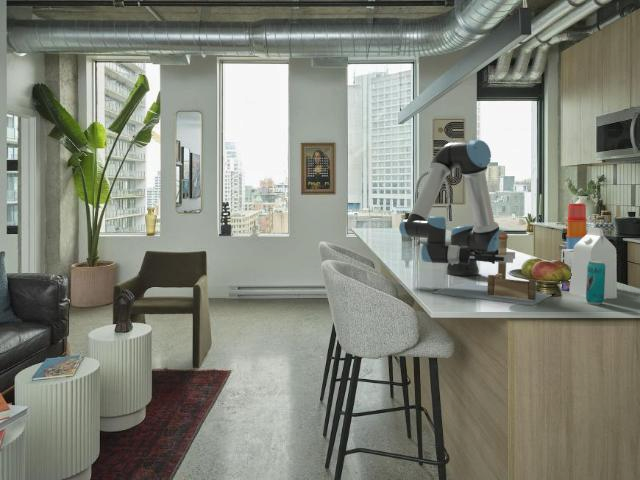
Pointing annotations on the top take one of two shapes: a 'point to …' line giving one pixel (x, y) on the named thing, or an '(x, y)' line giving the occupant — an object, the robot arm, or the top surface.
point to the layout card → (481, 293)
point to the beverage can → (595, 282)
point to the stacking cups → (576, 224)
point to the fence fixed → (512, 288)
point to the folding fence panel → (502, 251)
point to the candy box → (567, 259)
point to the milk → (593, 250)
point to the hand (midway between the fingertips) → (514, 257)
